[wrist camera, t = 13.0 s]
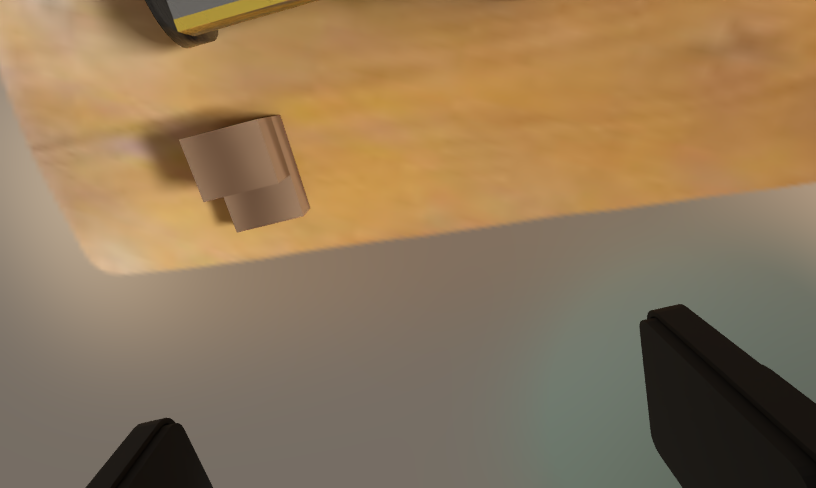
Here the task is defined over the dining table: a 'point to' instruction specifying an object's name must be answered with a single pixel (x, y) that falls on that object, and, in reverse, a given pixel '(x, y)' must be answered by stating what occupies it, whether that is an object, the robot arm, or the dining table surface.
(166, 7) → the trolley
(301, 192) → the block
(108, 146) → the dining table surface
